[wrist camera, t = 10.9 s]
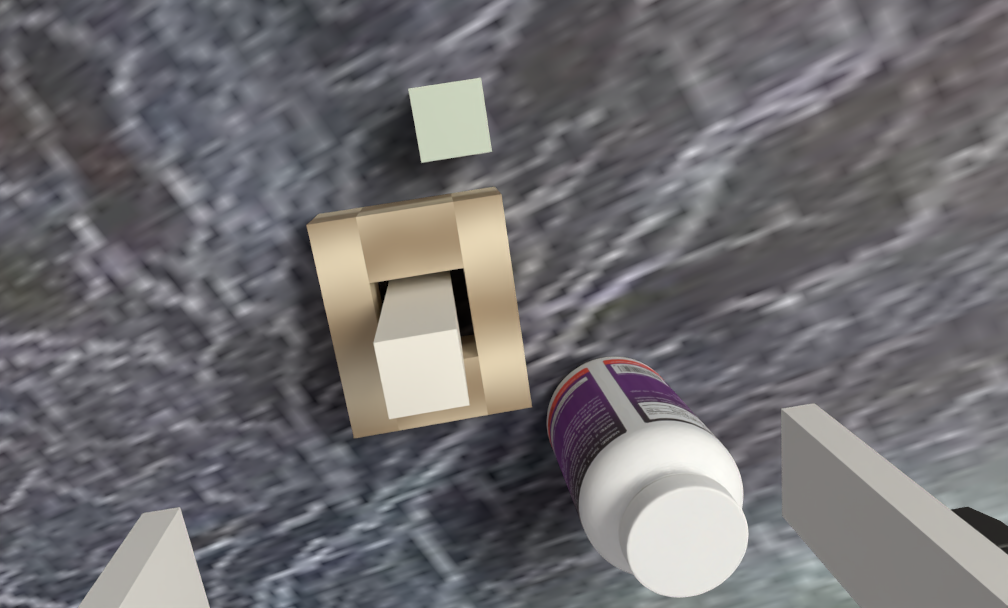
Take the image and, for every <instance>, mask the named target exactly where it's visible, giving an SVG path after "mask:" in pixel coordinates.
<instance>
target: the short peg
mask: <svg viewBox="0 0 1008 608" xmlns="http://www.w3.org/2000/svg"><path fill="white" fill-rule="evenodd" d="M408 90H409V95H410V101H411V107H412V112H413V118H414V123H415V129H416V135H417V140H418V146H419V152H420V157H421V163H423V162H429V161H436V160H442V159H448V158H455V157H461V156H467V155H474V154H480V153H486V152H492V149H491V143H490V136H489V129H488V122H487V116H486V109H485V102H484V96H483V89H482V82H481V78H476V79H470V80H463V81H457V82H450V83H443V84H437V85H430V86H424V87H417V88H410V89H408Z"/></svg>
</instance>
